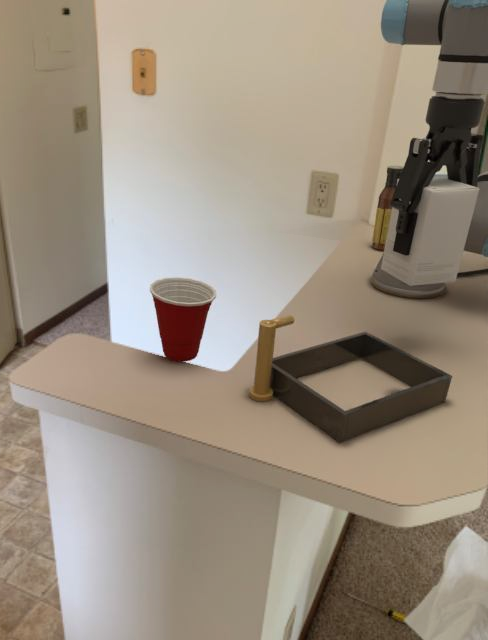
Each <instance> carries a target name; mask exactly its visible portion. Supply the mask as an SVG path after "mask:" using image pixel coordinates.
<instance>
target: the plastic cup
mask: <svg viewBox="0 0 488 640" xmlns="http://www.w3.org/2000/svg"><path fill="white" fill-rule="evenodd" d="M149 292H150V294H151V297H152V301H153V304H154V310H155V315H156V321H157V327H158V333H159V338H160V342H161V348H162V353H163V355H164V357H165V358H166V359H167V360H169V361H172V362H176V363H177V362H178V363H179V362H180V363H181V362H182V363H185V362H189V361H190V362H191V361H193V360H195V359H196V358H197V357H198V354H199V351H200V346H201V342H202V339H203V335H204V331H205V327H206V322H207V318H208V314H209V311H210V309H211V306H212V304H213V302H214V300H215V299H216V298H217V290H216V289H215V288H214V287H213V286H212V285H211V284H208V283H206V282H204V281H201V280H197V279H193V278H189V277H177V276H176V277H175V276H174V277H164V278H161V279H156V280H154V282H151V284H150V285H149Z"/></svg>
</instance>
